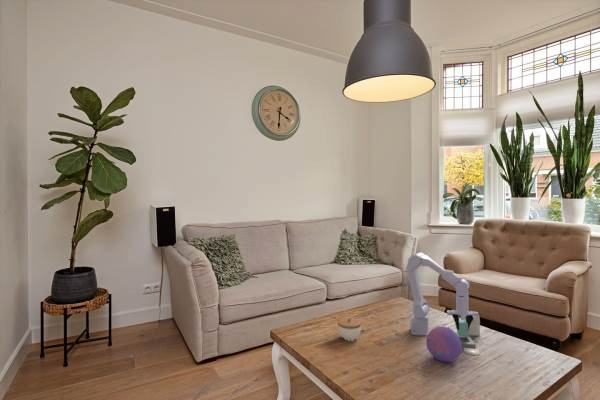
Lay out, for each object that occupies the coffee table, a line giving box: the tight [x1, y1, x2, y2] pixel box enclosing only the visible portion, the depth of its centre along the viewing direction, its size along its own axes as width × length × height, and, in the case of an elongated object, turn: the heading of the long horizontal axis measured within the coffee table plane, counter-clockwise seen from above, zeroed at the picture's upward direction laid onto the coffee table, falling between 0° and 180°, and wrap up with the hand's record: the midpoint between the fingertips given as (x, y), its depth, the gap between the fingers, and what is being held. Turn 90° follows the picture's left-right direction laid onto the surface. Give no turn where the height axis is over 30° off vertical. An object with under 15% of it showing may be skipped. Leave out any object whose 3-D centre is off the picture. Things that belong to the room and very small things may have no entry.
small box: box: [460, 315, 481, 336], centre depth 178 cm, size 8×6×10 cm
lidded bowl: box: [337, 316, 362, 341], centre depth 175 cm, size 13×13×11 cm
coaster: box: [463, 348, 480, 356], centre depth 158 cm, size 7×7×1 cm
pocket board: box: [457, 334, 476, 349], centre depth 168 cm, size 18×10×2 cm, turn 79°
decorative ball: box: [425, 326, 463, 363], centre depth 151 cm, size 15×15×15 cm
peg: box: [456, 319, 469, 337], centre depth 167 cm, size 4×4×7 cm
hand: (462, 329), depth 167 cm, fingers closed on peg, 4 cm apart
